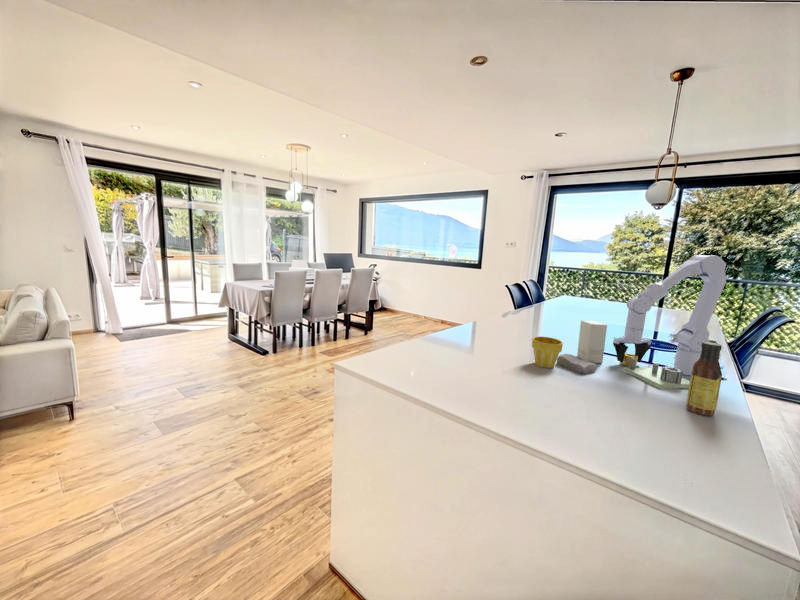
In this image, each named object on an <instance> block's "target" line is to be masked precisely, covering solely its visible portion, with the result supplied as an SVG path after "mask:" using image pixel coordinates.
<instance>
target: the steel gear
mask: <svg viewBox="0 0 800 600" xmlns="http://www.w3.org/2000/svg"><path fill="white" fill-rule="evenodd" d="M661 369H662V371H661V376H660V379H662V380H663V381H667V382H669V383H676V384H679V383H681V380H682V378H683V375H684V374H683V371H681V370H680V369H676V370H675V371H673V370H669V369H670V367H667V366H662V367H661Z"/></svg>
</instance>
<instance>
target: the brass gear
mask: <svg viewBox="0 0 800 600" xmlns="http://www.w3.org/2000/svg"><path fill="white" fill-rule="evenodd" d="M631 359H635V360H638V356H636V355H635V353H628V352H626V353H625V356H624V360H623V362H620V361H619V364H620V363H621V364H620V365H623V364H624V365H627V366H626V367H629V366H630V364H631ZM637 363H638V362H637V361H636V366H635V368H637V365H638V364H637ZM624 365H623V366H624Z"/></svg>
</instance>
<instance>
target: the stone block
mask: <svg viewBox="0 0 800 600" xmlns="http://www.w3.org/2000/svg"><path fill="white" fill-rule="evenodd" d="M556 365H559V366H561V367H563V368H566V369H568V370H570V371H573V372H576V373H577V372H578V373H579V374H581V375H587V374H590V372H591V373H592V372H593V373H595V372H596V371H597V363H592V362H586V361H584V360H583V359H581V358H579V357H578V356H577V355H576V356H575V355H573V354H569V353H563V354H559V355H558V357H557V360H556ZM578 373H577V374H578Z"/></svg>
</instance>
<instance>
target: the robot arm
mask: <svg viewBox="0 0 800 600" xmlns="http://www.w3.org/2000/svg"><path fill="white" fill-rule="evenodd" d="M726 266H727V263H726V262H725V261H724V260H723V258H722V257H721V256H718V255H715V254H714V255H704V254H703V255H702V254H695V255H694V256H691V257H690V258H689V259H687V260H685V261H684V262H683V263H682V264H681V265H680V266H679V267H678V268H677V269H675V270H674V271H673V272H672V273H670V275H668V276H666V277H665V278H664V279H663V280H662V281H661V282H654V283H649V284H648V285H647V288H646V289H644V290H643V291H641V293H640V292H639V293H637V294H636V295H637V296H633V297H631V298H630V299H628V302H626V307H627V309H628V312H627V318H626V324H625V327H624V335H622V336H620V337H613V341H612V344H613V347H614V349H615V353H616V360H617V361H618V362H619V363H620V362H623V360H624V356H625V353H627V350H628V349H629V346H628V345H626V344H630V345H631V344H633V345H634V352H635V353H634V355H636V356H638V360H637V363H641V361H642V359H643V358H644V356H645V354H646V353H647V352H648V351H649V350H650V349H651V343H652V339H649V338H647V337H645V338H644V337H643V335H644V327H645V322H646V317H647V312H649V311H650V310H651V308H652V306H653V305H654V304H656V303H657V302H658V301H660V300H662V298H664V297H665V296H667V295H668V293H669V289H670V288H673V287H674V286H675V285H677V284H678V283H680V282H681V281H683V280H685V279H686V278H688V277H690V276H696V275H698V276H699V277H700V278H701V280H702V281H703V285H702V287H701V290H700V293H699V295H698V297H697V299H696V302H695V305H694V307H693V308H692V309H693V310H692V313H691V314H690V318H689V319H688V321H687V322H686V323H685V324H682V327H681V329H680V330H678V331H677V333H676V334H675V341H676V342H677V347H676V352H675V358H674V363H673V366H671V365H670V366H669V365H667V366H666V367H674V368H676V369H680V370H681V371H683V375H685V376H691V373H692V370H693V365H694V363H695V362H696V361H698V360H699V358H700V355H701V351H702V347H701V345H702V342H710V341H709V337H710V331H709V328H708V326H709V323H710V320H711V318H712V315H713V313H714V311H715V309H716V306H717V304H718V302H719V299H720V297H721V295H722V293H723V290H724V287H725V285H726V283H727V276H726V275H727V274H726V270H725V269H726Z"/></svg>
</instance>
